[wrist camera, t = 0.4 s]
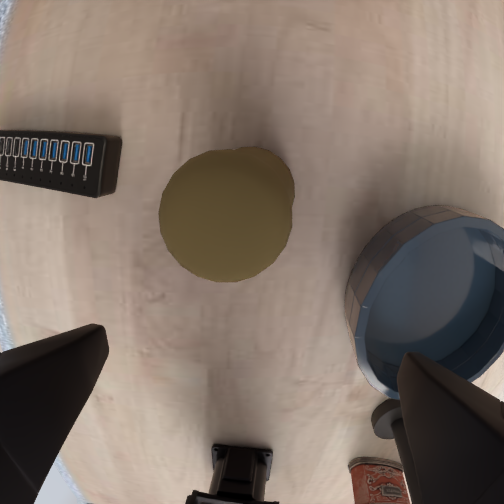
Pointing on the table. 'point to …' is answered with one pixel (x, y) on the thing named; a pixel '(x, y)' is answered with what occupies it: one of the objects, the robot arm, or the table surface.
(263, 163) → the olive game pawn
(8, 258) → the table surface
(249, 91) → the table surface
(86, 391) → the robot arm
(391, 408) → the dark disc-based rod
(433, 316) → the bowl
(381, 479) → the lighter
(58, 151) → the multiport hub
